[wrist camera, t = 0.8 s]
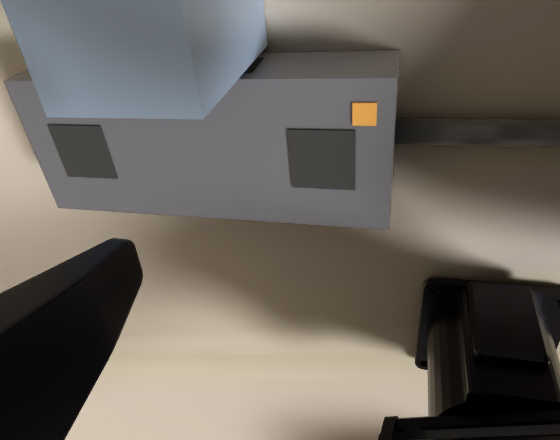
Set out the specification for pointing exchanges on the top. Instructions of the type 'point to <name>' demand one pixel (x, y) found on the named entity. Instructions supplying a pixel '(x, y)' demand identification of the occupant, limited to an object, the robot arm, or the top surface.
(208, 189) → the power strip
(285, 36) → the top surface
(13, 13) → the charger
